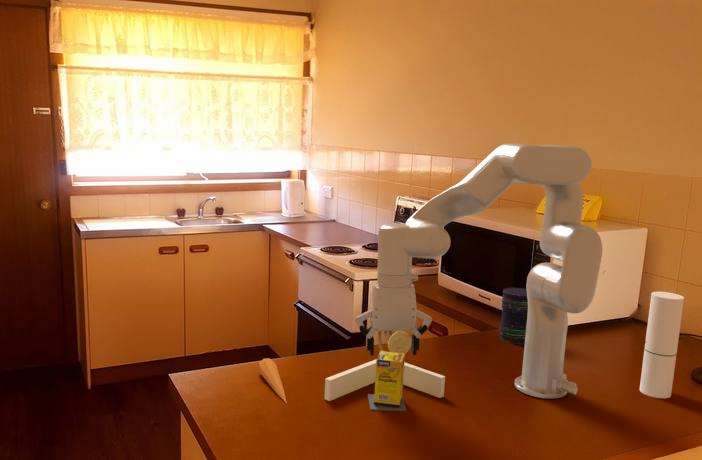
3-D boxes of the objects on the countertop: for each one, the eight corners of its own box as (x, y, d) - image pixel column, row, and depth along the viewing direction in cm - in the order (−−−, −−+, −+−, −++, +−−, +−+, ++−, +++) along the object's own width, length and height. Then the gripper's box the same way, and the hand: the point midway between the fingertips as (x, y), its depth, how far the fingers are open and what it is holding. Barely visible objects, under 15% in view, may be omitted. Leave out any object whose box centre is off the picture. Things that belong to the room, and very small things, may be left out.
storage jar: (497, 332, 203) (501, 286, 200) (529, 335, 201) (533, 288, 199) (500, 342, 193) (504, 294, 191) (533, 345, 192) (538, 297, 189)
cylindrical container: (668, 389, 163) (681, 293, 159) (672, 400, 156) (686, 300, 152) (638, 384, 165) (650, 290, 161) (640, 395, 158) (653, 296, 154)
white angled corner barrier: (443, 396, 152) (445, 376, 151) (385, 425, 136) (387, 403, 135) (384, 374, 164) (385, 355, 163) (324, 399, 147) (325, 378, 147)
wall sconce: (415, 367, 170) (420, 275, 166) (382, 370, 166) (387, 276, 162) (393, 349, 182) (397, 263, 178) (362, 352, 179) (366, 264, 175)
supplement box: (399, 408, 144) (402, 362, 142) (373, 405, 145) (376, 359, 143) (402, 397, 149) (405, 353, 148) (377, 394, 150) (379, 350, 149)
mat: (401, 396, 151) (401, 394, 151) (406, 411, 143) (406, 409, 143) (367, 395, 151) (367, 394, 151) (370, 410, 143) (370, 409, 143)
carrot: (259, 375, 162) (254, 360, 160) (276, 367, 163) (270, 352, 161) (280, 416, 144) (274, 400, 142) (299, 407, 145) (293, 391, 143)
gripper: (430, 275, 147) (427, 347, 149) (354, 275, 145) (353, 347, 148) (436, 283, 139) (433, 359, 142) (356, 284, 138) (355, 359, 141)
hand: (392, 353), depth 145 cm, fingers open, 9 cm apart
